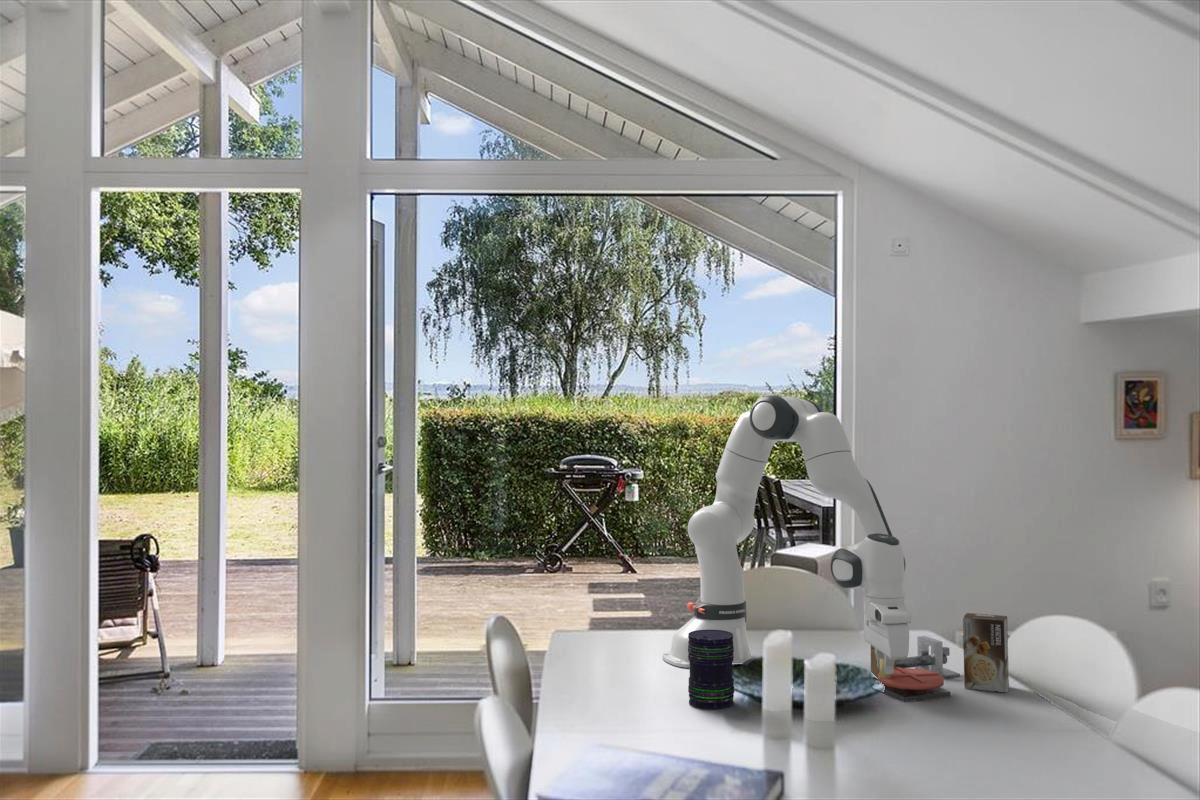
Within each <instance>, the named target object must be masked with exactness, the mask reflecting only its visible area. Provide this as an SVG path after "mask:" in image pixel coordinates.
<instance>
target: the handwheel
mask: <svg viewBox="0 0 1200 800" xmlns="http://www.w3.org/2000/svg"><path fill="white" fill-rule="evenodd" d="M884 663H885V658H881V659H880V672H879V673H878V679H877V680H879V681H880V682H882V684H884V685H887V686H890V687H895V688H901V689H911V690H927V689H935V688H939V687H940V688H942V687H943V686H944V685H945V678H944V677H943V676H942V675H940V674H939V673H938V672H932V671H927V670H921V669H915V668H901V667H895V669H893V674H886V673H885V672H884V671H883V665H884ZM879 681H878V682H879ZM880 682H879V683H880Z"/></svg>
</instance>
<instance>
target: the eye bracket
mask: <svg viewBox="0 0 1200 800" xmlns="http://www.w3.org/2000/svg"><path fill="white" fill-rule="evenodd" d="M942 647H943V641H942V640H939V639H935V638H932V637H929V636H926V635H921V636H917V656H925V655H931V665H930V666H921V667H914V669H921V670H927V671H932V672H938V673H939V674H940V675H942V676H943V677H944V679H947V677H949V678H957V676H958V677H961V674H960V673H959V672H956V671H954V670H950V669H947V668H945V667H943V665H944V664H943V649H942ZM929 648H930V650H929Z"/></svg>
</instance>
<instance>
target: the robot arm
mask: <svg viewBox="0 0 1200 800" xmlns="http://www.w3.org/2000/svg"><path fill="white" fill-rule="evenodd" d="M778 442H782V443H783V442H784V443H792V442H793V443H798V444H799V447H800V448H801V451H802V455H803V460H804V463H805V468H806V472H807V476H808V479H809V481H810V483H811V485H812V487H813V488H814V489H815V490H817V491H818V492H820V493H821V494H822V495H824V496H826V497H829V498H832V499H835V500H837V501H840V502H842V503H843V504H846V505H847V506H849V508H851V509H852V510H853V511H854V512H855V513H854V514H856V516H857V518H858V522H859V523H860V526H861V529H862V531H863V535H864V536H865V537H864V538H863V539H862V540H860V541H858V542H857V543H853V544H852V545H848V546H843V547H840V548H838V549H836V550H835V552H834V553H833V555H832V556H831V559H830V573H831V576H832V579H833V580H834V582H835V583H836V584H837V585H839V587H841V588H844V589H848V590H850V589H851V590H853V589H854V590H855V589H863V639H864V641H865V643H867V644H869V645H870V646H871V645H872V646H873V647H874V648H875V655H876V659H877V667H878V668H879V669H880V659H881V658H885V663H884V665H883V671H884V672H885V673H886V674H893V666H894V662H895V660H902V659H906V658H907V657H908V655H909V652H910V651H909V650H910V649H909V648H910V627H909V624H911V622H912V615H911V612H910V611H909V609H908V608H907V605H906V604H907V603H906V601H905V600H906V598H905V596H906V595H905V591H904V586H903V584H904V583H903V582H904V578H905V571H906V559H905V555H904V551H903V547H902V543H901V541H900V540H899V539H898V538H897V537H895V536H893V533H892V531H891V529H890V526H889V523H888V521H887V519H886V516H885V513H884V511H883V507H882V506H881V504H880V501H879V499H878V497H877V494H876V492H875V490H874V488H873V486H872V484H871V483H870V481H868V479H866V478H865V476H864V475H863V474H862V473H861V471H860V469H859V468H858V465H857V464H856V461H855V459H854V456H853V453H852V449H851V446H850V442H849V439H848V437H847V434H846V431H845V430H844V427H843V425H842V423H841V421H840V419H839V418H838V417H837V416H836V415H835V414H834V413H832V412H827V411H823V409H822V408H821V407H820V405H818V404H817V403H815V401H812V400H809V399H804V398H801V397H796V396H792V395H791V396H785V395H783V396H782V395H780V396H779V395H774V394H773V395H766V396H763V397H761V398H758V399H757V400H756V401H755V402H754V403H753V405H752V406H751V408H750V410H748V411H745V412H743V413H742V414H740V415H739V417H738V418H737V420H736V422H735V424H734V426H733V427H732V430H731V432H730V435H729V436H728V439H727V442H726V444H725V447H724V449H723V453H722V456H721V459H720V461H719V465H718V468H717V470H716V473H715V480H716V490H715V492H716V493H715V496H714V497H715V499H714V501H713V503H712V504H711V505H706V506H702V507H701V508H699V509H698V510H697V511H696V512H695V513H694V514H693V515H692V516H690V518H689V521H688V523H687V535H688V536H689V539H690V541H691V542H692V543H693V545H694V549H695V553H696V557H697V561H698V566H699V573H700V577H699V578H700V581H699V582H700V600H699V601H698V603H697V604H695V602H694V603H693V602H692V601H691V602H690V601H689V602H688V603H687V604H686V609H687V610H688V611H691V612H694V613H693V614H694V616H693V617H692V618H690V619H689V620H688V621H687V622H686V623H685V624H684V625H682V626H681V627H680V628H679V629H677V631H675V632H674V634H673V636H672V638H671V639H672V640H671V645H670V651H665V652H662V660H663V661H665V662H666V663H667V664H670V665H673V666H676V667H680V668H689V669H690V661H689V659H688V653H689V652H688V641H689V638H688V633H690V632H692V631H697V630H723V631H728V632H731V633H733V646H734V652H733V656H734V658H733V662H732V663H745V662H748V661H750V660H751V659H752V653H751V651H750V647H749V641H748V635H747V634H748V633H747V629H746V623H747V602H746V600H745V570H744V568H743V566H742V565H741V562H740V559H739V555H738V549H737V544H740V543H741V542H743V541H744V540H745V539H747V537H749V535H750V534H751V533H752V531H753V529H754V526H755V515H754V514H755V509H756V501H757V496H758V491H759V487H760V483H761V481H762V478H763V475H764V473H765V470H766V467H767V464H768V460H769V457H770V454H771V451H772V449H773V447H774V445H775V444H777V443H778Z"/></svg>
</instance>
